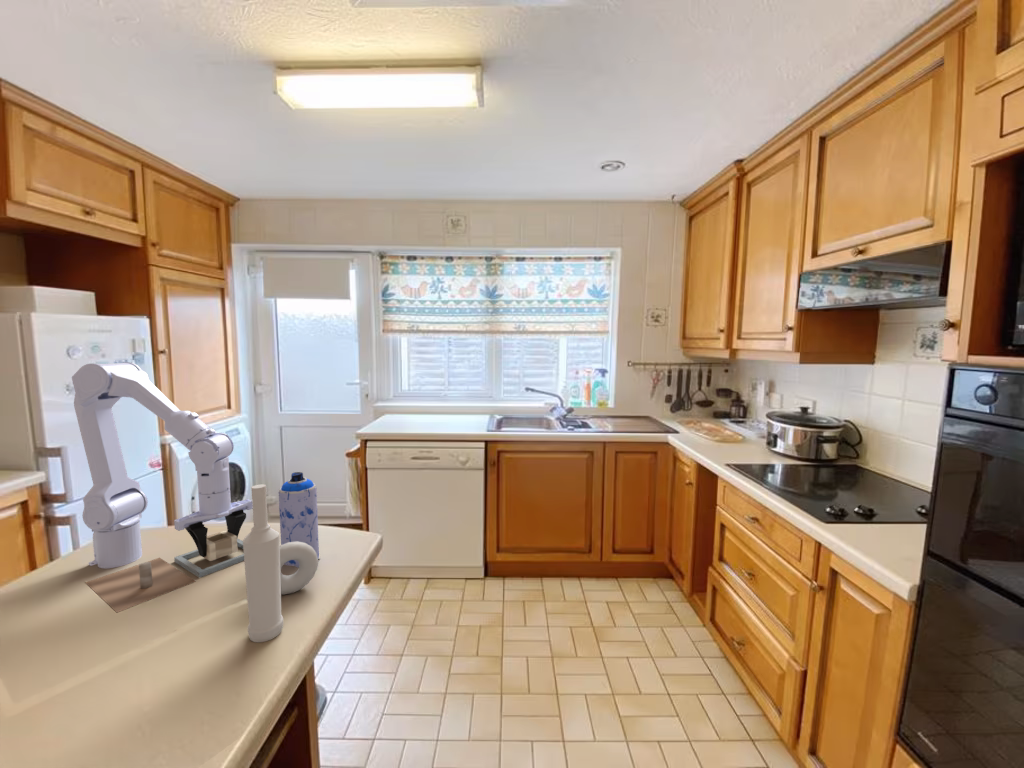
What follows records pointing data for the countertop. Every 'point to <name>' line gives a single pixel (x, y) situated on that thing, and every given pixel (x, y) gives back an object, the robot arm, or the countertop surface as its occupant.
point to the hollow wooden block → (221, 545)
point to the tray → (203, 572)
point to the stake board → (139, 584)
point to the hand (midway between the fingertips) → (217, 550)
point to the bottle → (262, 572)
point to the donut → (306, 567)
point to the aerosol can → (299, 513)
